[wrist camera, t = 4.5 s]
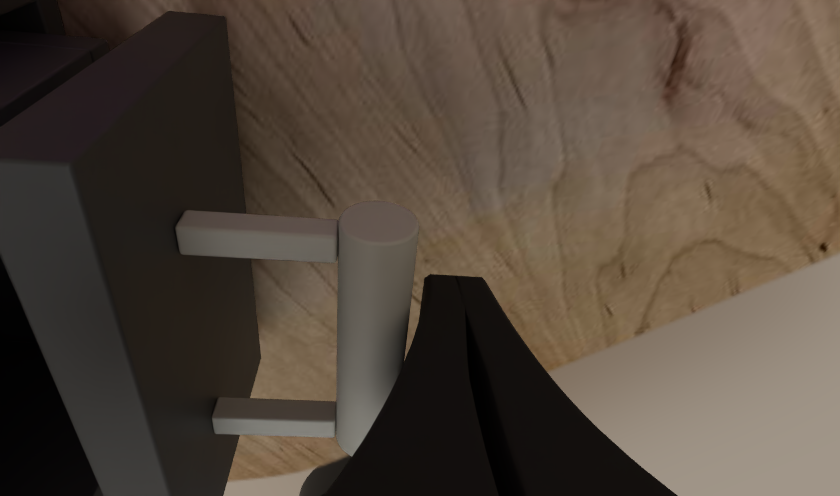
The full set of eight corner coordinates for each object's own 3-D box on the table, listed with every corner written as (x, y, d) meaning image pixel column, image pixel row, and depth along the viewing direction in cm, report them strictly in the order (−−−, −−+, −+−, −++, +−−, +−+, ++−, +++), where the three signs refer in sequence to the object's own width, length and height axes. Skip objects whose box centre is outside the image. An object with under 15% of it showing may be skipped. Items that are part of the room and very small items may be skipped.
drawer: (423, 33, 12) (443, 189, 6) (391, 362, 18) (388, 590, 12) (-385, -41, 11) (-1215, 75, 5) (-129, 340, 16) (-389, 581, 11)
